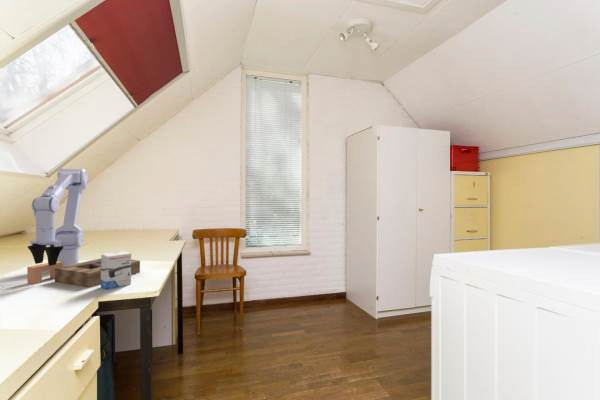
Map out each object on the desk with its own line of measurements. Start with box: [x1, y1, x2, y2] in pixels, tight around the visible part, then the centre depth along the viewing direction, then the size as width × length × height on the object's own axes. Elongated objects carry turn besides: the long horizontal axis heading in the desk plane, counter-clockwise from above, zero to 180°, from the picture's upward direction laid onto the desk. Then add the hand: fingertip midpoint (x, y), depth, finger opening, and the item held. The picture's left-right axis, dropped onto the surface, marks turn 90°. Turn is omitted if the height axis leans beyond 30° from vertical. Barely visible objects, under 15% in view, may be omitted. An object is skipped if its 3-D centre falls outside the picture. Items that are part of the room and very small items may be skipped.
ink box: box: [100, 250, 132, 290], centre depth 112 cm, size 8×5×12 cm, turn 143°
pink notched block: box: [26, 261, 63, 285], centre depth 117 cm, size 4×10×6 cm, turn 161°
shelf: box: [54, 258, 141, 288], centre depth 123 cm, size 18×22×5 cm
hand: (45, 264), depth 117 cm, fingers open, 7 cm apart
